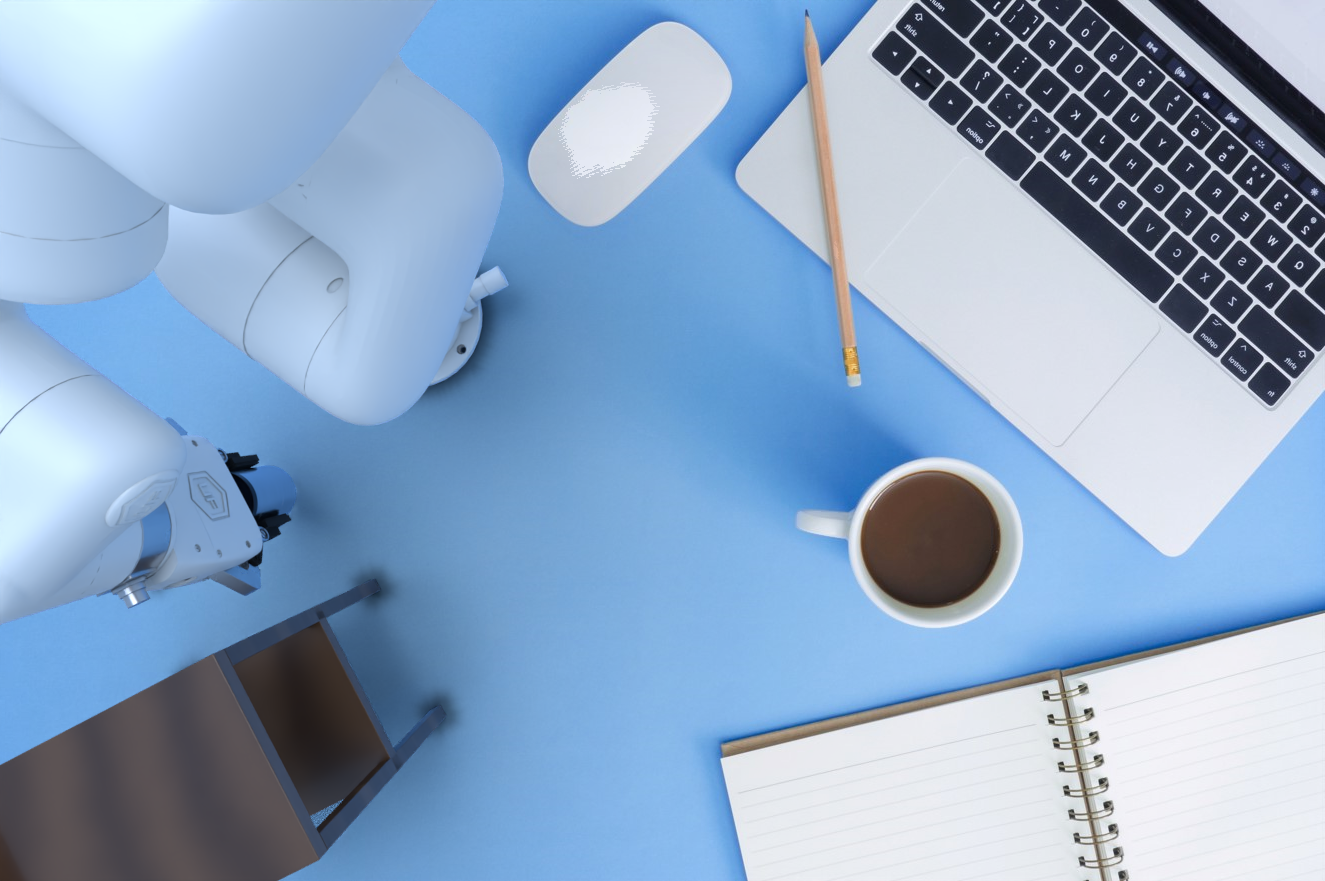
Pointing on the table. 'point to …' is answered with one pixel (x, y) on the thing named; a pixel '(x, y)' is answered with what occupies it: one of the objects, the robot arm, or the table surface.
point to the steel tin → (266, 490)
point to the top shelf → (158, 792)
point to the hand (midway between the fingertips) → (258, 495)
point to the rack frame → (322, 713)
